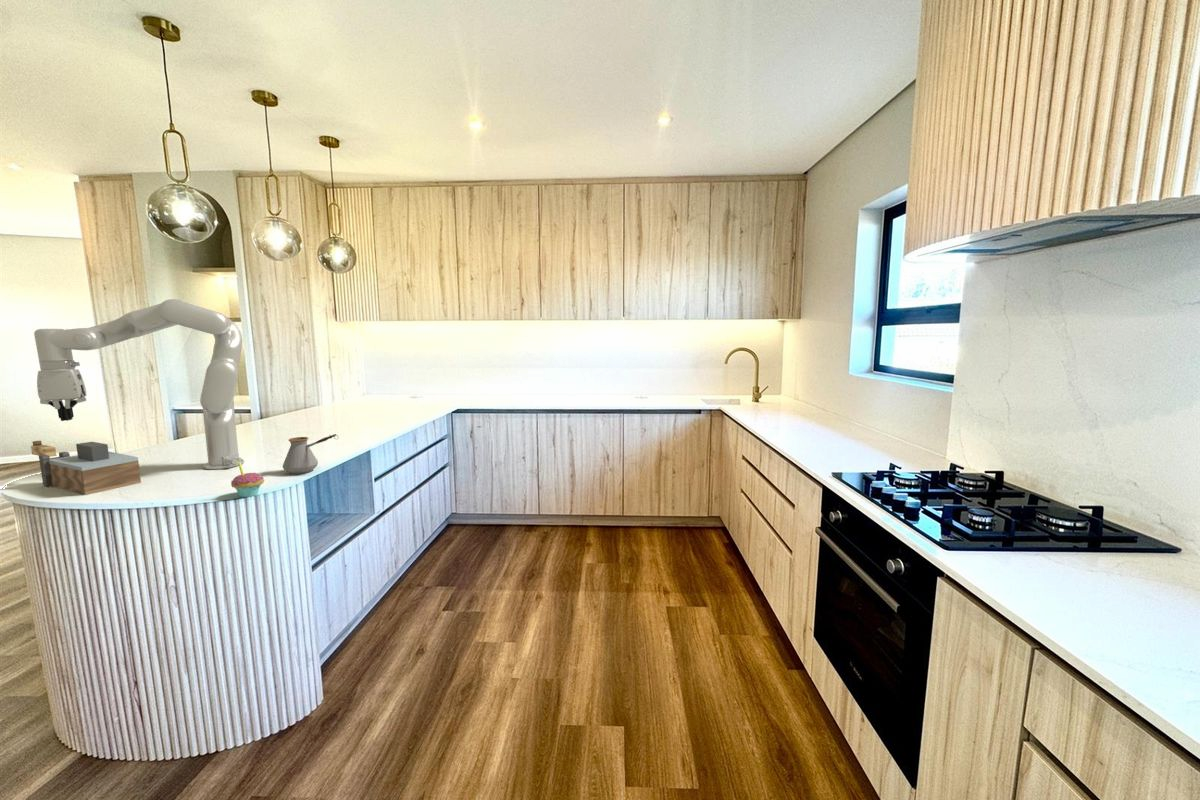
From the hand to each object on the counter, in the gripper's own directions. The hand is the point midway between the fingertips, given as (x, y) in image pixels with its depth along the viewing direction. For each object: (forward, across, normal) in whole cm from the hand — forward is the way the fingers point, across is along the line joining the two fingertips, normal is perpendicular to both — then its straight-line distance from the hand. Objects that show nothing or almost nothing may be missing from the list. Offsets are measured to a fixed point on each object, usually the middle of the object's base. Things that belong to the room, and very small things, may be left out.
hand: (66, 420), depth 159 cm
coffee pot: (+24, -71, +18) cm, 77 cm away
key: (+13, +10, -8) cm, 18 cm away
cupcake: (+24, -55, +38) cm, 71 cm away
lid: (+15, -6, +4) cm, 17 cm away
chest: (+22, -5, +3) cm, 23 cm away
